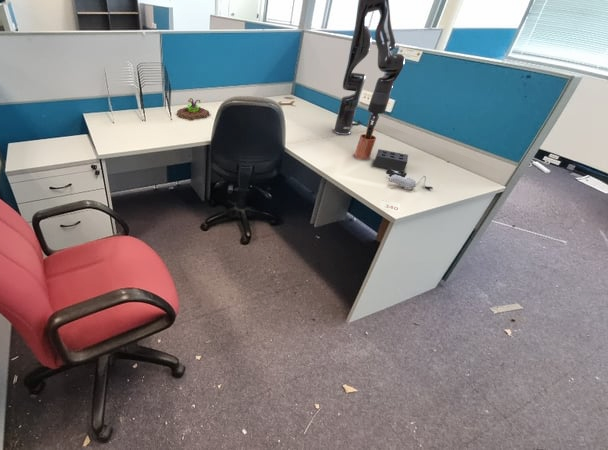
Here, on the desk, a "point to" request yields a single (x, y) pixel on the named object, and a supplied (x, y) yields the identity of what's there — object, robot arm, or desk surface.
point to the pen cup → (364, 147)
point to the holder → (390, 160)
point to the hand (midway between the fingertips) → (368, 137)
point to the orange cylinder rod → (371, 134)
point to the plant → (192, 111)
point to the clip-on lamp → (403, 179)
